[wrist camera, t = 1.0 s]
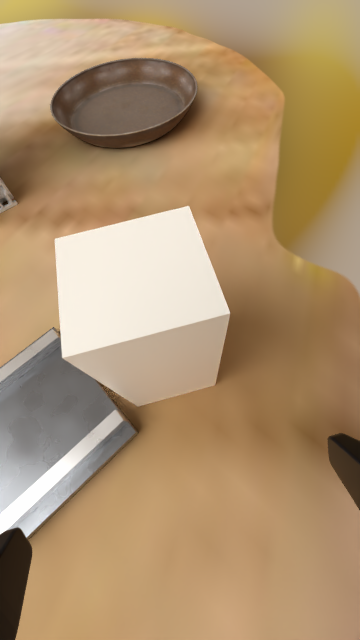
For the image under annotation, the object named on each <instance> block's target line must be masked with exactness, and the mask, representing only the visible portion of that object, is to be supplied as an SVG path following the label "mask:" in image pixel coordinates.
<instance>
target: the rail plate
mask: <svg viewBox="0 0 360 640" xmlns="http://www.w3.org/2000/svg"><path fill="white" fill-rule="evenodd" d="M138 433H139V432H138V431H137V430H136V429H135V427H134V426H133V425H132V424H131V422H130V421H129V420H128V419H127V417H126V416H125V415H124V413H123V412H122V411H121V410H120V408H119V407H118V406H117V405H116V403H115V402H114V401H113V400H112V398H111V397H110V396H109V394H108V393H107V392H106V391H105V389H104V388H103V387H102V386H101V384H100V383H99V382H98V381H97V380H95V379H94V378H92V377H91V376H89V375H88V374H86V373H85V372H83V371H81V370H80V369H78V368H77V367H75V366H74V365H72V364H71V363H69V362H67V361H66V360H64V359H63V358H62V348H61V334H60V332H59V331H58V330H56V329H55V328H54V327H53V328H52V329H50V330H49V331H48V332H46V333H45V334H44V335H42V336H41V337H40V338H38V339H37V340H36V341H35V342H33V343H32V344H31V345H29V346H28V347H27V348H25V349H24V350H23V351H21V352H20V353H19V354H17V355H16V356H15V357H14V358H12V359H11V360H10V361H8V362H7V363H6V364H4V365H3V366H2V367H0V534H1V533H2V532H4V531H6V530H9V529H13V528H16V527H18V528H20V529H21V530H22V531H23V533H24V534H25V536H26V538H27V539H29V538H31V537H32V536H33V535H34V534H35V533H36V532H37V531H38V530H39V529H40V528H41V527H42V526H43V525H44V524H45V523H46V522H47V521H48V520H49V519H50V518H51V517H52V516H53V515H54V514H55V513H56V512H57V511H58V510H60V509H61V508H62V507H63V506H64V505H65V504H66V503H67V502H68V501H69V500H70V499H71V498H72V497H73V496H74V495H75V494H76V493H77V492H78V491H79V490H80V489H81V488H82V487H83V486H84V485H85V484H86V483H87V482H88V481H90V480H91V479H92V478H93V477H94V476H95V475H96V474H97V473H98V472H99V471H100V470H101V469H102V468H103V467H104V466H105V465H106V464H107V463H108V462H109V461H110V460H111V459H112V458H113V457H114V456H115V455H116V454H117V453H118V452H120V451H121V450H122V449H123V448H124V447H125V446H126V445H127V444H128V443H129V442H130V441H131V440H132V439H133V438H134V437H135V436H136V435H137V434H138Z"/></svg>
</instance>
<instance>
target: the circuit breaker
mask: <svg viewBox="0 0 360 640" xmlns="http://www.w3.org/2000/svg"><path fill="white" fill-rule="evenodd" d="M12 199H14V197H13V196H12V194H11V193H10V191H9V189H8V188H7V186H6V185H5V183H4V182H3V180H2V179H1V177H0V213H2V212H4V211H5V210H7V209H9V208H11V207H13V206H15V205H17V204H18V203H17V202H16V200H14V201H12ZM5 201H8V204H6V205H4V206H3V204H2V203H3V202H5Z"/></svg>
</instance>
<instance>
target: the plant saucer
mask: <svg viewBox="0 0 360 640" xmlns="http://www.w3.org/2000/svg"><path fill="white" fill-rule="evenodd" d="M196 93H197V82H196V79H195V77H194V76H193V74H192V73H191V72H190V71H188V70H187V69H186V68H184V67H182V66H181V65H178V64H176V63H173V62H170V61H166V60H161V59H154V58H131V59H121V60H115V61H111V62H107V63H103V64H100V65H97V66H94V67H91V68H89V69H87V70H84V71H82V72H80V73H78V74H76V75H75V76H73V77H72V78H70V79H69V80H67V81H66V82H65V83H64V84H62V85H61V86H60V87H59V88H58V90H57V91H56V93H55V94H54V96H53V98H52V100H51V105H50V109H51V113H52V116H53V118H54V119H55V120H56V121H57V122H58V123H59V124H60V125H61V126H62V127H63V128H64V129H66V130H67V131H68V132H70V133H71V134H72V135H74V136H76V137H77V138H79V139H81V140H83V141H85V142H88V143H90V144H93V145H97V146H102V147H110V148H123V147H132V146H137V145H141V144H145V143H148V142H150V141H153V140H155V139H157V138H159V137H161V136H163V135H164V134H166V133H168V132H169V131H170V130H172V129H173V128H174V127H175V126H176V125H177V124H178V123H179V122H180V121H181V120H182V118H183V117H184V116H185V115H186V113H187V112H188V110H189V108H190V107H191V105H192V103H193V101H194V98H195V96H196Z"/></svg>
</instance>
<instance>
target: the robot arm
mask: <svg viewBox="0 0 360 640" xmlns="http://www.w3.org/2000/svg"><path fill="white" fill-rule="evenodd" d="M328 452H329V460H330V463H331V465H332V467H333V468H334V470H335V472H336V473H337V475H338V476H339V478H340V480H341V481H342V483H343V484H344V486H345V487H346V489H347V491H348V492H349V494H350V495H351V497H352V499H353V500H354V502H355V503H356V505H357V507H358V508H359V510H360V441H359V440H357V439H354V438H352V437H350V436H348V435H346V434H343V433H338V434H335V435H331V436H329V437H328ZM31 559H32V547H31V544H30V543H29V541H28V539H27V538H26V536H25V534H24V533H23V531H22V530H21V529H20V528H18V527H16V528H13V529H9V530H6V531H4V532H2V533H1V534H0V640H15V638H16V634H17V630H18V626H19V621H20V616H21V611H22V606H23V600H24V595H25V590H26V585H27V580H28V574H29V569H30V564H31Z"/></svg>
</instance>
